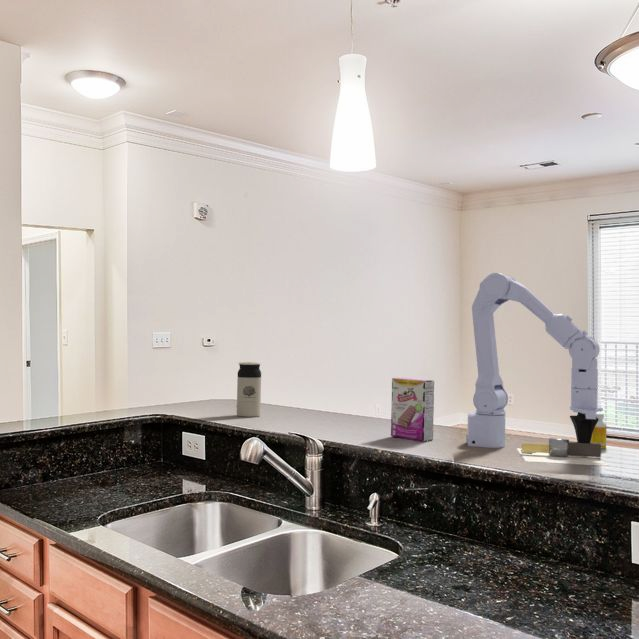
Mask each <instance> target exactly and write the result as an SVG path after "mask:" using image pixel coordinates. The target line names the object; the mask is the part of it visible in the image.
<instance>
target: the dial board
mask: <svg viewBox="0 0 639 639" xmlns="http://www.w3.org/2000/svg"><path fill="white" fill-rule="evenodd" d="M515 449H516V451H518V453H519V454H520V456H521V457H522V459H523V460H524V461H525V462H526V463H528V462H529V463H549V464H564V465H565V464H567V465H582V466H583V465H587V466H589V465H590V466H604V467H605V466H606V467H607V466H609V465H608V464H607V463H606V462H604V461H602V460H601V459H599V457H585V456H553V455H549V453H539V452H522V447H521V448H520V447H518V448H515Z"/></svg>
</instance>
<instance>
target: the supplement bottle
mask: <svg viewBox="0 0 639 639" xmlns="http://www.w3.org/2000/svg"><path fill="white" fill-rule="evenodd" d="M596 418H598V419H599V420H598V422H597V424H596V426H595V428H594V430H593V433H592V437H591V442H590V443H600V444H601V450H605V449H607V423H606V422H605V421H603V420H604V419H605V414H604V413H603V412H599V411H598V412H596Z"/></svg>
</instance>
